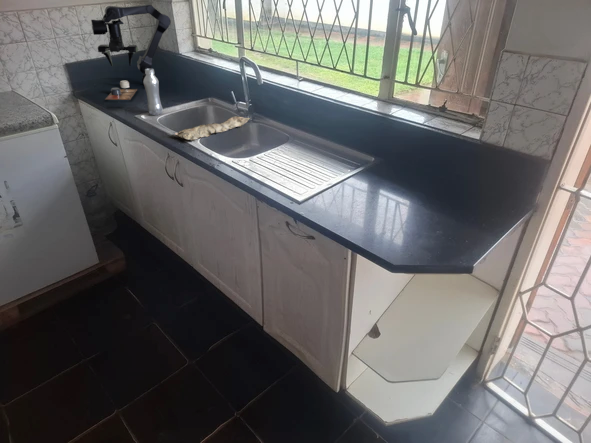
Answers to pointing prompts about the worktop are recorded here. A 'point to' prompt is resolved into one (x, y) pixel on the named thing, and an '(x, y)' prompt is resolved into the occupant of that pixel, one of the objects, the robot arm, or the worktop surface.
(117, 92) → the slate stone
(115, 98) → the wooden grid board
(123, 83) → the white lidded jar
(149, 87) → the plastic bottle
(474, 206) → the worktop surface
